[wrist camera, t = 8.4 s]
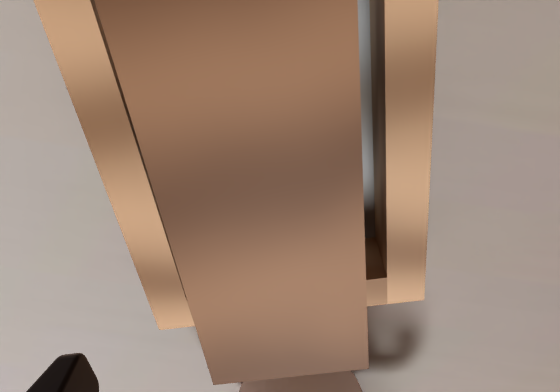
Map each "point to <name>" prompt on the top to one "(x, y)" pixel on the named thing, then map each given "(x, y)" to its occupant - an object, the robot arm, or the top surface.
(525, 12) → the top surface
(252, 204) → the brown wooden block
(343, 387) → the cup
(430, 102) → the wooden tray
